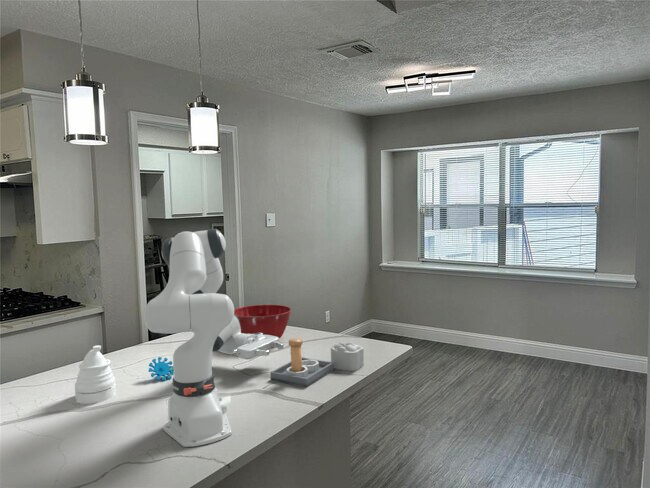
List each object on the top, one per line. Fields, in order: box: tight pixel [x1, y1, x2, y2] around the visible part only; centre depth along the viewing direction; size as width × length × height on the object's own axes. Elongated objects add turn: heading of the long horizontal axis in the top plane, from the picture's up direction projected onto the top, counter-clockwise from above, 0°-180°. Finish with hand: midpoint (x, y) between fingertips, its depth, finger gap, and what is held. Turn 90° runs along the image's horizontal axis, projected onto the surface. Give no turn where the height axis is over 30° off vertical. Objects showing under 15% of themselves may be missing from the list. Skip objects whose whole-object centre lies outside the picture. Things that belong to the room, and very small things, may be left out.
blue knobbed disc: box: [148, 356, 174, 382], centre depth 185 cm, size 11×6×10 cm
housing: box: [269, 356, 335, 388], centre depth 183 cm, size 16×20×4 cm
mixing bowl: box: [234, 304, 292, 339], centre depth 230 cm, size 28×28×16 cm
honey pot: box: [74, 344, 117, 405], centre depth 167 cm, size 13×13×18 cm
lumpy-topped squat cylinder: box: [330, 341, 365, 372], centre depth 193 cm, size 10×13×9 cm
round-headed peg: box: [288, 338, 304, 372], centre depth 179 cm, size 5×5×13 cm
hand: (275, 349), depth 184 cm, fingers open, 8 cm apart
